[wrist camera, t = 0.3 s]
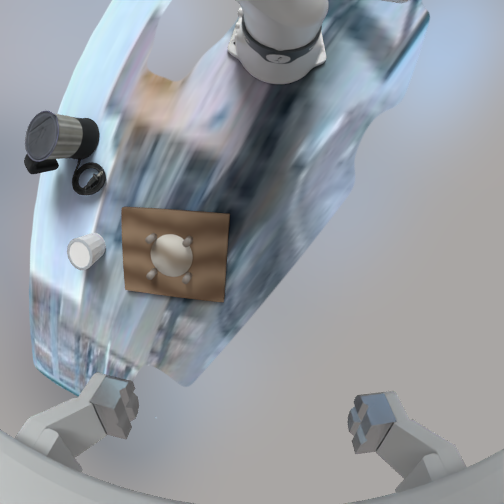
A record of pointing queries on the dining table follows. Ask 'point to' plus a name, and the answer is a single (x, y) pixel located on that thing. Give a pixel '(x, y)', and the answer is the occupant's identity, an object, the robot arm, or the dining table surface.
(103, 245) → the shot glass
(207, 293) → the pin board
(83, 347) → the dining table surface
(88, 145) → the milk frother
